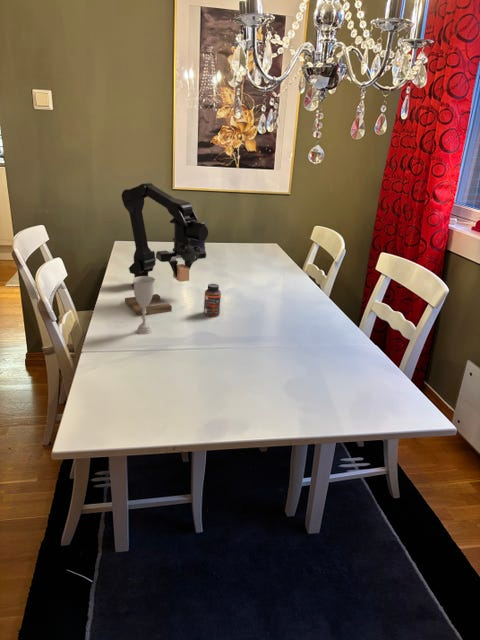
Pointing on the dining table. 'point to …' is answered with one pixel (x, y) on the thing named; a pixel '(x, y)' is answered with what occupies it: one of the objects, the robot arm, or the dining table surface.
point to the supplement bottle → (212, 300)
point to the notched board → (154, 309)
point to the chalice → (143, 299)
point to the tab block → (182, 273)
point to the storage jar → (198, 244)
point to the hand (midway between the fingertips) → (181, 276)
